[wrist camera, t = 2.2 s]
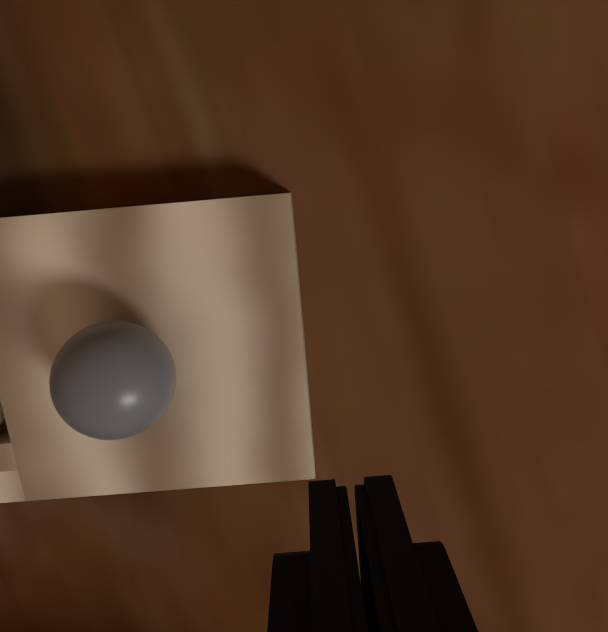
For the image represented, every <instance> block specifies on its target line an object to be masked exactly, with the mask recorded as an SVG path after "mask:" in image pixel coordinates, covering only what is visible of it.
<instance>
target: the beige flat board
mask: <svg viewBox="0 0 608 632" xmlns="http://www.w3.org/2000/svg"><path fill="white" fill-rule="evenodd" d="M115 320H117V321H126V322H131V323H135V324H138V325H141V326H143V327H145V328H147V329H149V330H150V331H152V332H153V333H154V334H156V335H157V336H158V337H159V338H160V339H161V340H162V341H163V342H164V344H165V345H166V346H167V348H168V349H169V351H170V353H171V355H172V358H173V361H174V364H175V368H176V387H175V392H174V395H173V398H172V401H171V403H170V405H169V407H168V409H167V410H166V412H165V413H164V414H163V416H162V417H161V418H160V419H159V420H158V421H157V422H156V423H155V424H154V425H152V426H151V427H150V428H148V429H147V430H145V431H144V432H142V433H140V434H137V435H135V436H133V437H129V438H126V439H121V440H99V439H94V438H91V437H88V436H85V435H83V434H81V433H79V432H77V431H75V430H74V429H73V428H71V427H70V426H69V425H68V424H67V423H65V421H64V420H63V419H62V418H61V417H60V415H59V414H58V412H57V411H56V409H55V407H54V405H53V402H52V399H51V395H50V388H49V378H50V371H51V367H52V364H53V361H54V359H55V357H56V355H57V353H58V352H59V350H60V349H61V347H62V346H63V345H64V344H65V342H66V341H67V340H68V339H70V338H71V337H72V336H73V335H74V334H76V333H77V332H78V331H80V330H82V329H84V328H86V327H88V326H90V325H93V324H96V323H99V322H105V321H115ZM306 479H315V460H314V443H313V432H312V420H311V409H310V398H309V386H308V375H307V363H306V352H305V340H304V329H303V317H302V306H301V294H300V283H299V272H298V260H297V249H296V237H295V226H294V214H293V203H292V192H291V193H279V194H268V195H256V196H245V197H233V198H222V199H210V200H198V201H187V202H175V203H164V204H152V205H140V206H129V207H117V208H106V209H94V210H83V211H71V212H59V213H48V214H36V215H25V216H13V217H2V218H0V503H6V502H19V501H32V500H45V499H58V498H71V497H84V496H97V495H110V494H123V493H136V492H149V491H162V490H175V489H188V488H201V487H214V486H227V485H241V484H254V483H267V482H280V481H293V480H306Z"/></svg>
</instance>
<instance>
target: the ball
mask: <svg viewBox="0 0 608 632" xmlns="http://www.w3.org/2000/svg"><path fill="white" fill-rule="evenodd" d="M175 387H176V368H175V364H174V361H173V358H172V355H171V353H170V351H169V349H168V348H167V346H166V345H165V344H164V342H163V341H162V340H161V339H160V338H159V337H158V336H157V335H156V334H154V333H153V332H152V331H150V330H149V329H147V328H145V327H143V326H141V325H138V324H135V323H131V322H126V321H117V320H115V321H105V322H99V323H96V324H93V325H90V326H88V327H86V328H84V329H82V330H80V331H78V332H77V333H76V334H74V335H73V336H72V337H71V338H70V339H68V340H67V341H66V342H65V344H64V345H63V346H62V347H61V349H60V350H59V352H58V353H57V355H56V357H55V359H54V361H53V364H52V367H51V371H50V378H49V388H50V395H51V399H52V402H53V405H54V407H55V409H56V411H57V412H58V414H59V415H60V417H61V418H62V419H63V420H64V421H65V423H67V424H68V425H69V426H70V427H71V428H73V429H74V430H75V431H77V432H79V433H81V434H83V435H85V436H88V437H91V438H94V439H99V440H121V439H126V438H129V437H133V436H135V435H137V434H140V433H142V432H144V431H145V430H147V429H148V428H150V427H151V426H152V425H154V424H155V423H156V422H157V421H158V420H159V419H160V418H161V417H162V416H163V414H164V413H165V412H166V410H167V409H168V407H169V405H170V403H171V401H172V398H173V395H174V392H175Z"/></svg>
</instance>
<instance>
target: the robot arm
mask: <svg viewBox="0 0 608 632" xmlns="http://www.w3.org/2000/svg"><path fill="white" fill-rule="evenodd" d="M355 503H356V518H357V533H358V548H359V563H360V576H359V569H358V562H357V555H356V549H355V542H354V535H353V529H352V522H351V515H350V508H349V502H348V495H347V488H346V486H338V487H336V484H335V479H332V480H319V481H309V520H310V551H302V552H289V553H276V554H274V556H273V564H272V577H271V591H270V604H269V617H268V630H267V632H478V630H477V628H476V625H475V623H474V620H473V618H472V615H471V613H470V610H469V608H468V605H467V603H466V600H465V598H464V595H463V593H462V590H461V587H460V585H459V582H458V580H457V577H456V575H455V572H454V570H453V567H452V565H451V562H450V560H449V557H448V555H447V552H446V550H445V548H444V545H443V544H442V543H441V542H440V541H436V542H423V543H412V540H411V536H410V533H409V530H408V527H407V523H406V520H405V517H404V514H403V511H402V507H401V504H400V501H399V498H398V495H397V491H396V488H395V485H394V482H393V478H392V476H391V475H384V476H371V477H364V485H355ZM360 578H361V582H360Z"/></svg>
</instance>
